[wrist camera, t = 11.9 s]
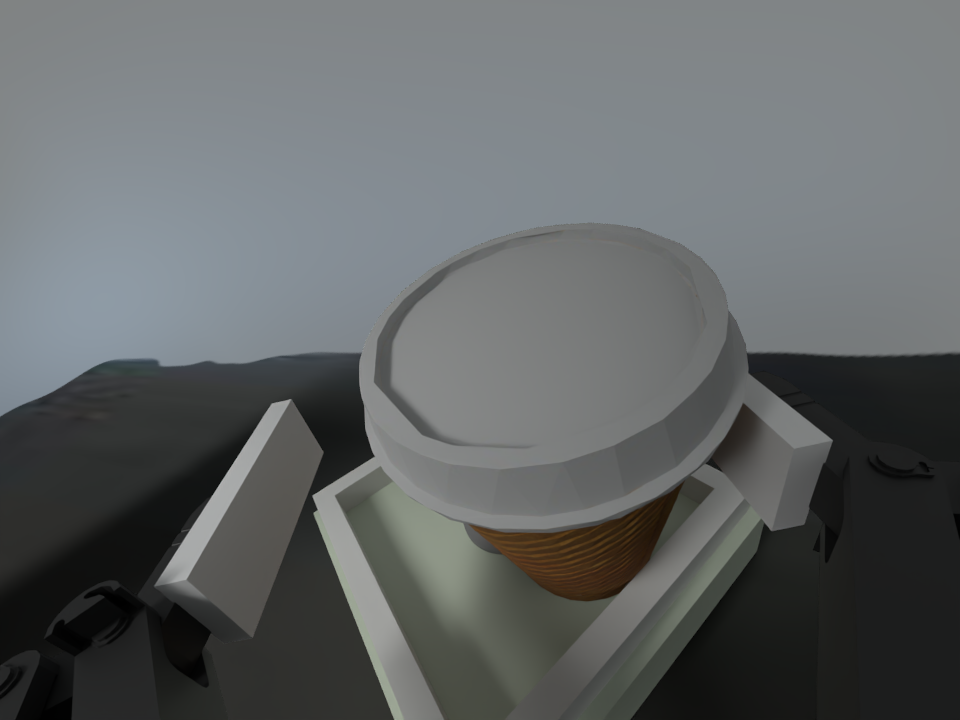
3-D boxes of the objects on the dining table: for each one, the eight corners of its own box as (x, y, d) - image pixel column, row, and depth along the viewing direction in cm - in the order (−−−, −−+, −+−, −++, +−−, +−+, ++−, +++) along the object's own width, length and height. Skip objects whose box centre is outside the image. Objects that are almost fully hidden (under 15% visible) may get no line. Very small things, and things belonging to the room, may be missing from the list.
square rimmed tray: (335, 543, 24) (301, 496, 21) (528, 409, 30) (518, 362, 28) (488, 907, 11) (448, 889, 9) (756, 551, 18) (773, 487, 16)
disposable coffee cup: (464, 462, 21) (358, 279, 13) (634, 411, 20) (627, 185, 13) (494, 682, 14) (303, 568, 6) (757, 616, 13) (924, 388, 5)
